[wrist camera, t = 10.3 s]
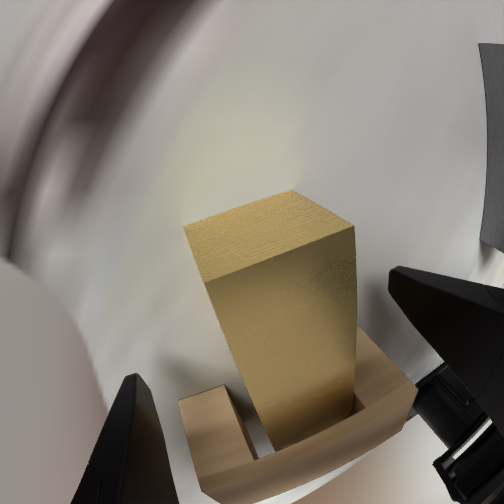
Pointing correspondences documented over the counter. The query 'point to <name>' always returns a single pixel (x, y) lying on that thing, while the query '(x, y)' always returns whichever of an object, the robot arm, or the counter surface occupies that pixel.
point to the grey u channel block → (494, 145)
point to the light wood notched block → (300, 454)
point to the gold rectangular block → (285, 308)
